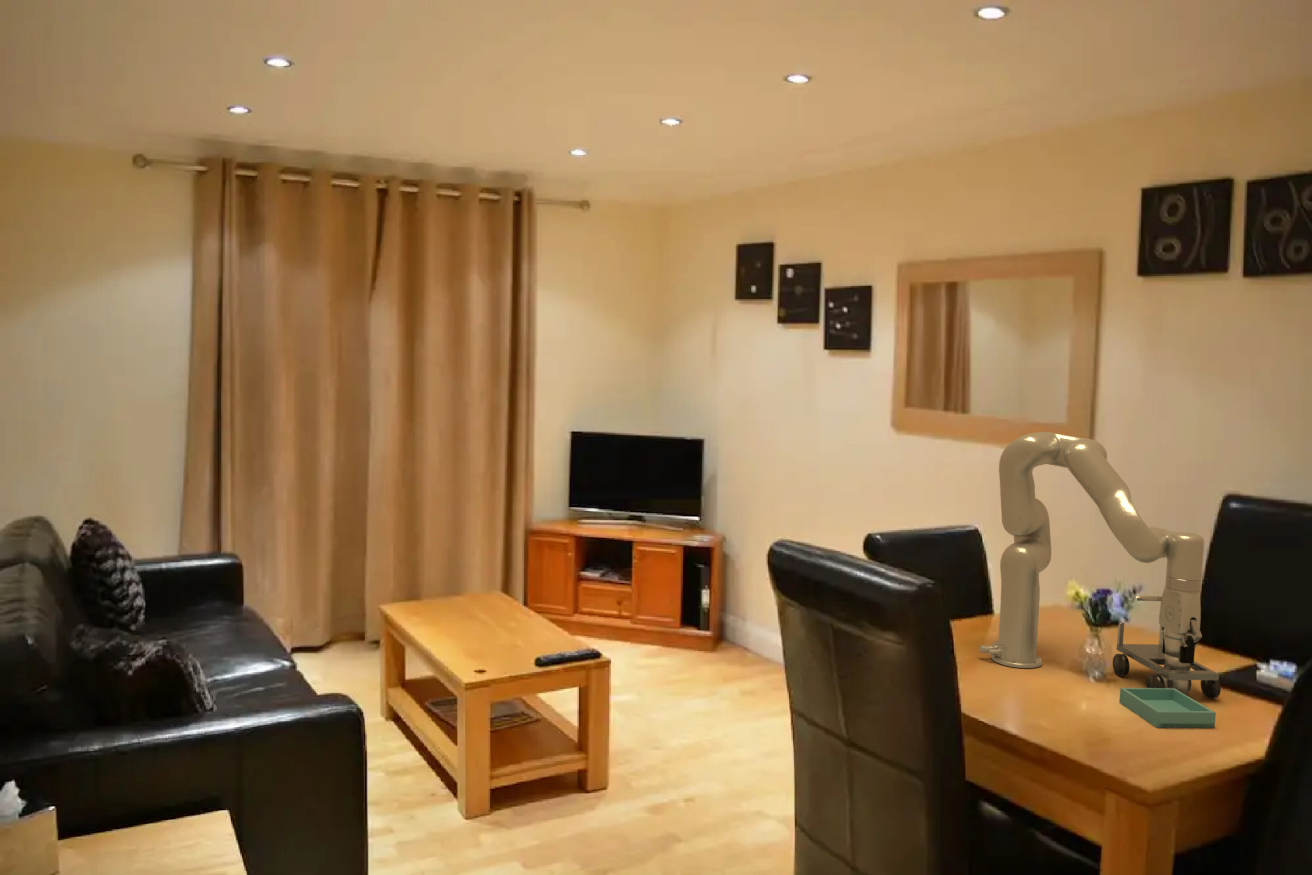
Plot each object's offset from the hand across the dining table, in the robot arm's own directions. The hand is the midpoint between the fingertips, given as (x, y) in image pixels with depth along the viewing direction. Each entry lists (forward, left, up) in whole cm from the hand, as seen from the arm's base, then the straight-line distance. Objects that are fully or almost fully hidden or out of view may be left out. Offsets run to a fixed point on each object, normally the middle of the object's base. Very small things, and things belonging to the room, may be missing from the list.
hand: (1177, 657), depth 246 cm
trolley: (0, +6, -9) cm, 11 cm away
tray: (-11, -15, -9) cm, 21 cm away
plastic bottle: (0, 0, -9) cm, 9 cm away
